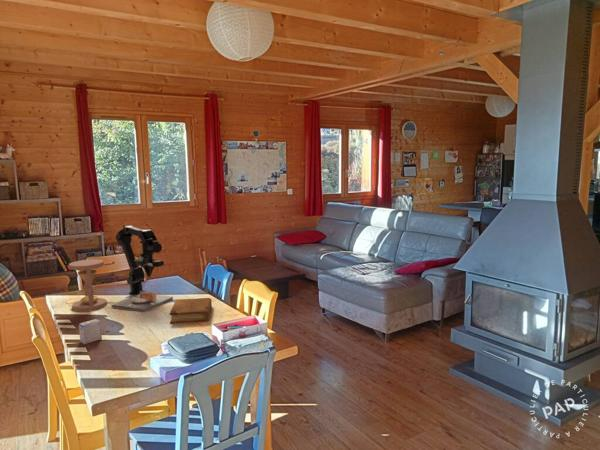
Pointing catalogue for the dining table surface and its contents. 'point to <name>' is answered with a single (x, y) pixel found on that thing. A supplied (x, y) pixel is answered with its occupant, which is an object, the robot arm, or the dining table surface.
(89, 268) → the wooden pedestal stand
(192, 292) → the dining table surface
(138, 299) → the dial
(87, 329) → the medicine box
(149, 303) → the panel
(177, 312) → the diary
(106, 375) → the dining table surface
